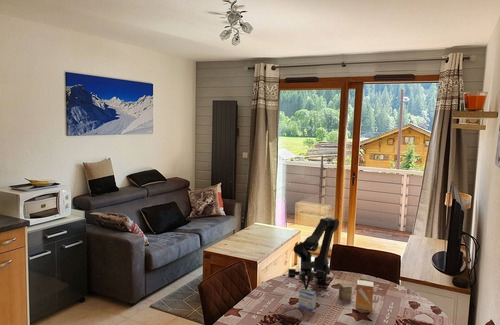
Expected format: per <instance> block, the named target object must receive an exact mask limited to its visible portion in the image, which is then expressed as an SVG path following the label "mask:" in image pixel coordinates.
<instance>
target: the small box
mask: <svg viewBox="0 0 500 325" xmlns="http://www.w3.org/2000/svg"><path fill="white" fill-rule="evenodd" d="M356 281H357V282H356V293H355V294H356V295H355V309H356V310H363V311H364V310H365V311H369V312H372V310H373V301H374V299H373V298H374V297H373V296H374V285H375V284H374V281H368V280H361V279H357V280H356Z"/></svg>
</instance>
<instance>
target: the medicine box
mask: <svg viewBox="0 0 500 325" xmlns="http://www.w3.org/2000/svg"><path fill="white" fill-rule="evenodd" d="M298 307H299V308H300V309H306V310H309V311H314V310H315V309H316V307H317V291H316V290H311V289H308V288H307V289H305V288H304V287H302V288H301V289H300V290H299V291H298Z"/></svg>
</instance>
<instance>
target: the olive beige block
mask: <svg viewBox="0 0 500 325" xmlns="http://www.w3.org/2000/svg"><path fill="white" fill-rule="evenodd" d="M352 293H353V286H352V285H351V284H350V283H349V282H339V284H338V296H339V297H340V298H341V300H343V301H344V300H345V301H346V300H352V295H353V294H352Z"/></svg>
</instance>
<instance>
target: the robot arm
mask: <svg viewBox="0 0 500 325" xmlns="http://www.w3.org/2000/svg"><path fill="white" fill-rule="evenodd" d="M339 226H340V221H339V220H338V218H335V217H330V216H327V217H323V218H320V219H319V222H318V224H317V226H316V227H315V229H314V231H313V232H312V233H311V235H310V236H308V237H306V238H305V239H304V241H300V242H299V243H298V244H296V245H295V246H293V252H294V253H295V254H296V256H298V257H299V258H300V270H299V271H297V269H296V268H289V269H288V271H287V272H288V273H287V277H288V278H289V279H290V278H291V279H294V278H296V276H298V280H300V281H301V283H302V286H303V289H307V290H308V289H309V284H310V283H311V281H313V280H314V282H315V283H316V285H318V286H319V285H321V286H323V285H329V284H330V283H329V281H327V280H328V279H327V278H328V275H329V276H330V274H331V270H332V269H331V267H330V266H329V260H328V256H329V252H330V251H329V250H330V247H331V244H332V240H333V235H334V233H335V232H336V231H337V230H338V227H339ZM322 236H323V237H322ZM321 238H323V239H322V241H321V245H320V250H319V254H318V255H317V256H315V257H314V260H312V257H313V256H312V252H317V250H318V248H319V241H320V240H321ZM312 271H313V272H312ZM314 277H315V278H316V279H314Z"/></svg>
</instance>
